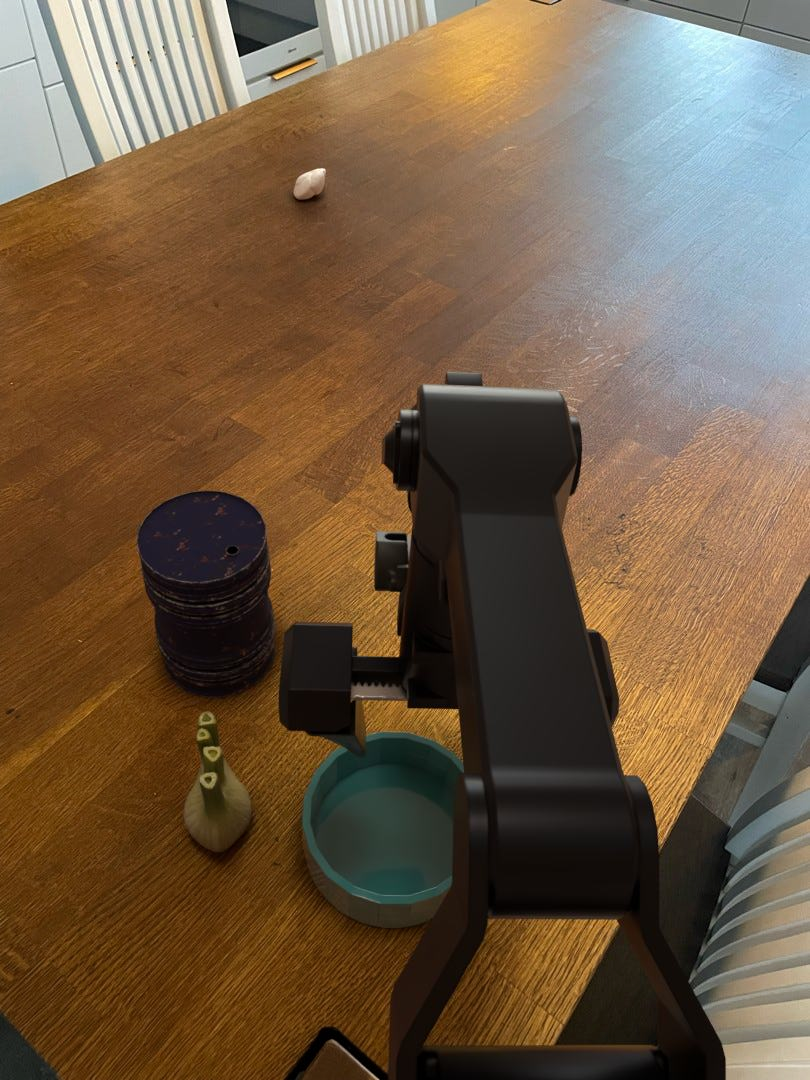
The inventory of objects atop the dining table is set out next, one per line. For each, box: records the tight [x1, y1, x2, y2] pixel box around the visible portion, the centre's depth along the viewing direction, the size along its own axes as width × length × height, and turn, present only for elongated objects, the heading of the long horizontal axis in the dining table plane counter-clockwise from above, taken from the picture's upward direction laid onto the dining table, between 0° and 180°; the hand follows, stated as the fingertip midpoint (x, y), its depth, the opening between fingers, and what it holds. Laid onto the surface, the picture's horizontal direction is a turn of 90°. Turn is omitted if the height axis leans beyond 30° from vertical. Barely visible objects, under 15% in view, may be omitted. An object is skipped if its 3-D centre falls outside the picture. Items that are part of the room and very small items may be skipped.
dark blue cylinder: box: [136, 489, 276, 699], centre depth 73 cm, size 10×10×15 cm
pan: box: [301, 731, 464, 929], centre depth 66 cm, size 13×13×4 cm
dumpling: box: [293, 168, 327, 201], centre depth 137 cm, size 7×5×4 cm
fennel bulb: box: [182, 710, 253, 853], centre depth 63 cm, size 6×5×12 cm
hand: (434, 751), depth 57 cm, fingers open, 9 cm apart
